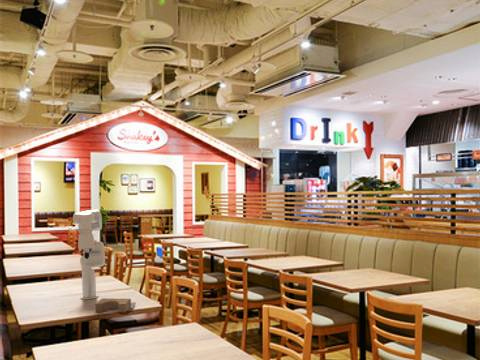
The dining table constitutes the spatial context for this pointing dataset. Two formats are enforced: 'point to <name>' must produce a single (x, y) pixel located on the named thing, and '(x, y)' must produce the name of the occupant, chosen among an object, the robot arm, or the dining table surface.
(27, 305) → the dining table surface
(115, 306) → the decorative block
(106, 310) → the mat
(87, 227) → the robot arm
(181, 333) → the dining table surface
